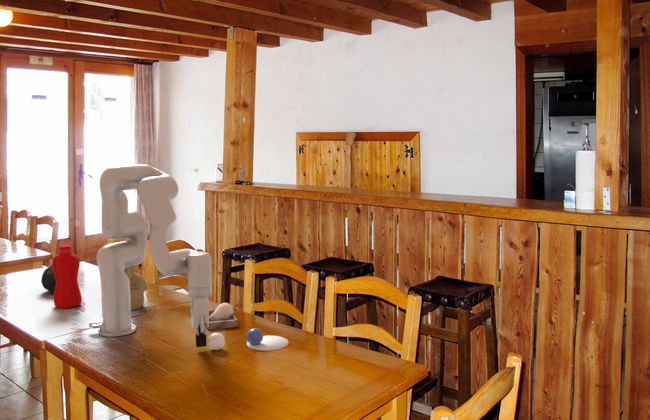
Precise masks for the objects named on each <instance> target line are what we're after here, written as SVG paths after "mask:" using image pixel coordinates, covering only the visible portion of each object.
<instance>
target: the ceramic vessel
mask: <svg viewBox="0 0 650 420" xmlns="http://www.w3.org/2000/svg"><path fill="white" fill-rule="evenodd" d="M124 271H125V273H126V275H127V276H128V278H129V282H130V302H131V311H136V310H139V309H141V308H142V307H143V305H144V303H145V291H146V290H147V289H148V285H147V282H146V279H145V278H144V276H143V275H142V274H140V273H138V272H136V271H135V266H132V267H128V268H125V269H124Z"/></svg>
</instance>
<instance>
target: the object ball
mask: <svg viewBox="0 0 650 420" xmlns="http://www.w3.org/2000/svg"><path fill="white" fill-rule="evenodd" d="M263 336H264V333H263V331H262V330H261V329H260V328H256V327H253V328H251V329H249V330H248V331H247V334H246V340H247V341H248V342H249V343H250V344H252V345H258V344H259V343H261V341H262V340H263Z"/></svg>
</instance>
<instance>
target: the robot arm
mask: <svg viewBox="0 0 650 420" xmlns="http://www.w3.org/2000/svg"><path fill="white" fill-rule="evenodd" d="M99 190H100V195H101V232H102V235H103V237H104V238H105V239H106V240H109V241H116V240H122V239H123V241H118V242H112V243H108V244H105V245H103V246H102V247H100V249H98V251H97V253H96V263H97V266H98V271H99V278H100V291H101V293H100V294H101V310H102V311H101V312H102V313H101V314H102V317H101V319H100V320H98V321H89V322H88V325H89V326H88V327H89V328H92V329H94V330H95V329H98V331H97V332H98V334H99V335H100V336H103V337H106V338H107V337H108V338H109V337H113V338H116V337H122V336H127V335H130V334H133V333H134V332H135V331H136V330H137V325H135V324H134V323H132V310H131V302H130V282H129V278H128V276H127V275H126V273H125V271H124V269H125V268H128V267H132V266H134V267H136V266H138V265H141V264H142V263H143V262H144V260H145V259H146V255H147V222H146V219H145V216H144V215H143V213H141V212H140V211H139V210H135V209H130V210H129V201H128V196H127V194H126V193H125V191H128V190H136V191H137V195H138V197H139V201H140V202H141V205H142V207H143V210H144V211H145V214H146V216H147V219H148V221H149V223H150V227H151V229H150V232H149V237H148V251H149V253H150V257H151V259H152V261H153V263H154V265H155V267H156V269H157V271H158V272H159V273H160V274H161V275H162V276H164V277H173V276H177V275H180V274H183V273H187V297H188V298H190V322H191V326H192V328H193V329H195V347H197V348H203V347H204V348H205V347H207V328H206V327H208V326H209V310H210V308H209V307H210V305H209V304H210V303H209V297H211V296H212V295H213V284H212V283H213V282H212V281H213V280H212V279H213V278H212V256H211V254H210V253H209V252H206V251H197V250H194V249H191V248H182V249H175V250H173V251H170V249H169V247H168V245H167V241H166V235H167V234H166V233H167V231H168V228H170V226H172V225H173V224H174V223H175V222H176V221H177V214H176V212H175V210H174V207H173V205H172V203H171V200H174V199H176V197H177V195H178V194H179V185H178V183H177V181H176V180H175V179H174V178H173V177H172V176H171V175H169V174H168V173H165V172H163V171H162V170H160V169H158V168H156V167H154V166H152V165H149V164H143V163H140V164H139V163H137V164H119V165H114V166H109V167H107V168H106V169H105V170H103V172H102V174H101V175H100V178H99Z"/></svg>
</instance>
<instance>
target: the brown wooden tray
mask: <svg viewBox="0 0 650 420" xmlns="http://www.w3.org/2000/svg"><path fill="white" fill-rule="evenodd" d="M215 310H216V308H214V309H209V316H210V315H211V314H212V313H214V311H215ZM238 323H239V320H238V318H237V316H236V315H235V313H234V312H233V315H232V317H231V318H230V319H228V320H220V321H214V322H209V326H208V327H206V331H208V330H218V329H227V328H228V329H229V328H237V327H238V326H239V325H238Z"/></svg>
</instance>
